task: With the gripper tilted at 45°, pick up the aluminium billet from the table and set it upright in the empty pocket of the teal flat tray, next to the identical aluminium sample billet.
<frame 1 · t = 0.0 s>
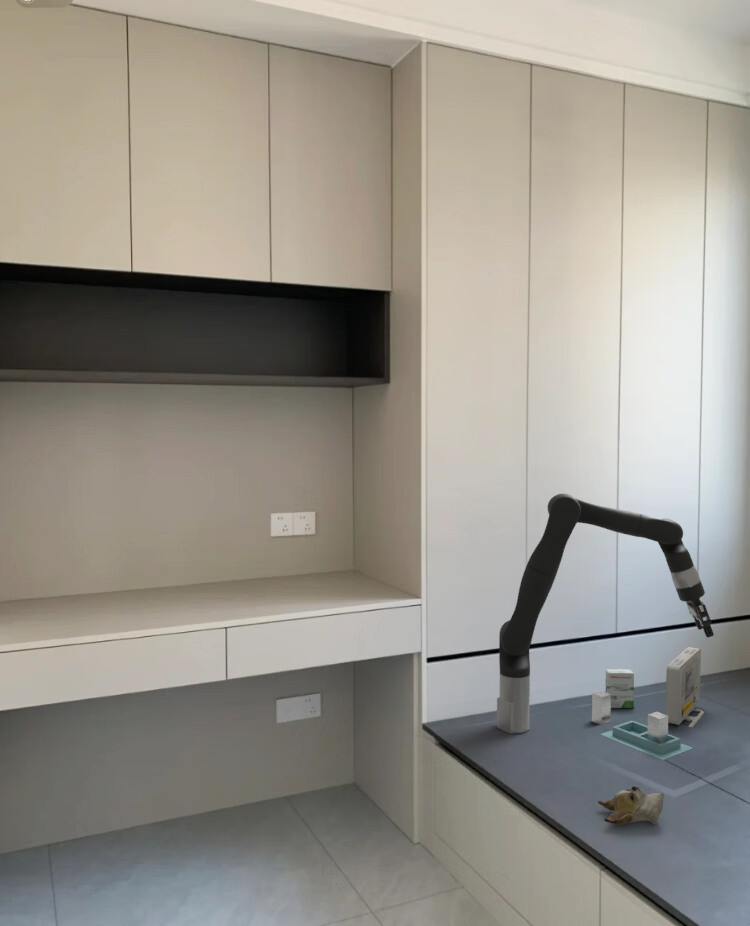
hand: (706, 632, 251), 31 cm above the platform, fingers open, 8 cm apart
teal flat tray: (645, 746, 245), on the platform
billet: (601, 721, 264), on the platform
sample billet: (657, 745, 242), point 1 cm above the platform, touching teal flat tray
network device: (683, 718, 266), on the platform
ink box: (619, 706, 278), on the platform
ceramic sculpture: (631, 821, 202), on the platform
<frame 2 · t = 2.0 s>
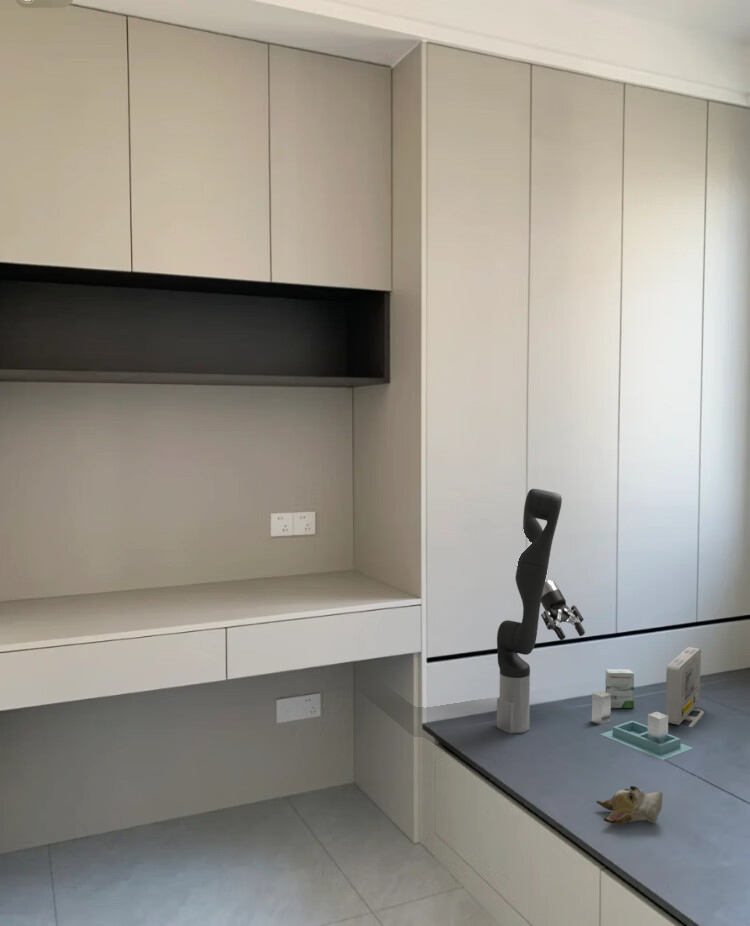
hand: (573, 636, 272), 24 cm above the platform, fingers open, 8 cm apart
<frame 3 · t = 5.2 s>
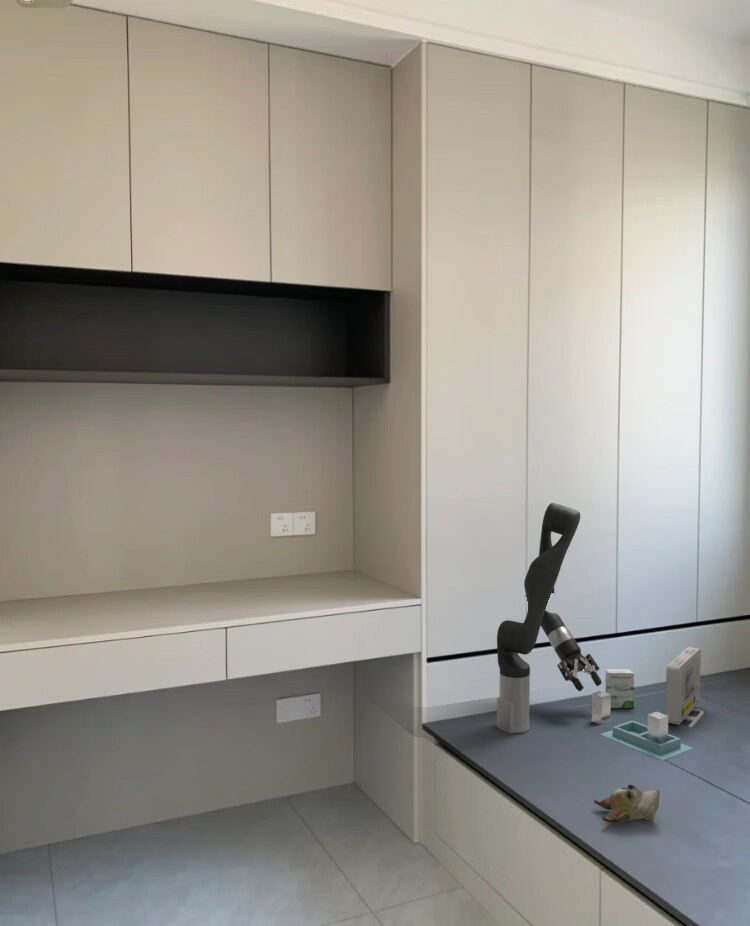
hand: (590, 687, 267), 10 cm above the platform, fingers open, 8 cm apart
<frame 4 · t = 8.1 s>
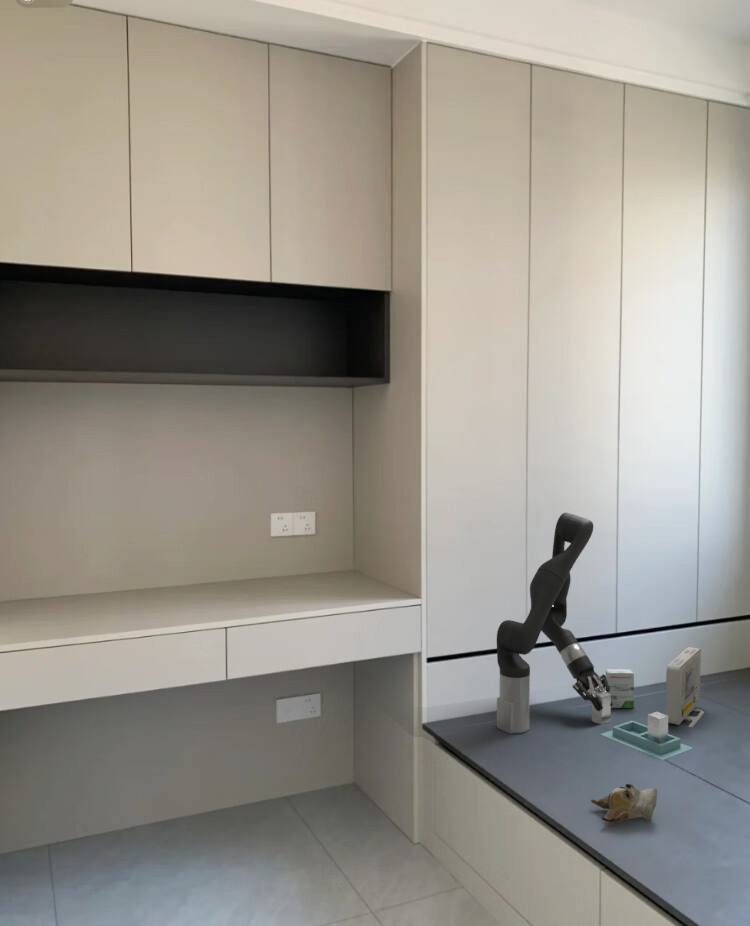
hand: (605, 708, 262), 5 cm above the platform, fingers closed on billet, 4 cm apart
billet: (601, 721, 264), on the platform, touching gripper
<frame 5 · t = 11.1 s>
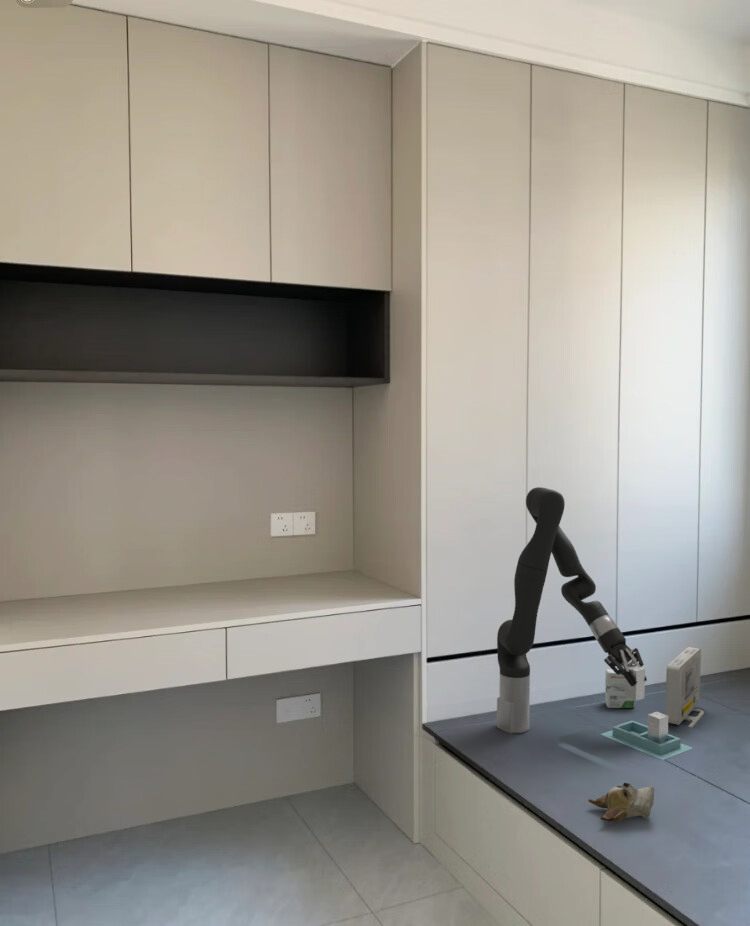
hand: (639, 683, 246), 18 cm above the platform, fingers closed on billet, 4 cm apart
billet: (634, 697, 248), point 13 cm above the platform, touching gripper
when the fingers open (8 cm above the platform, at t = 14.4 s): billet drops 1 cm, resting on teal flat tray.
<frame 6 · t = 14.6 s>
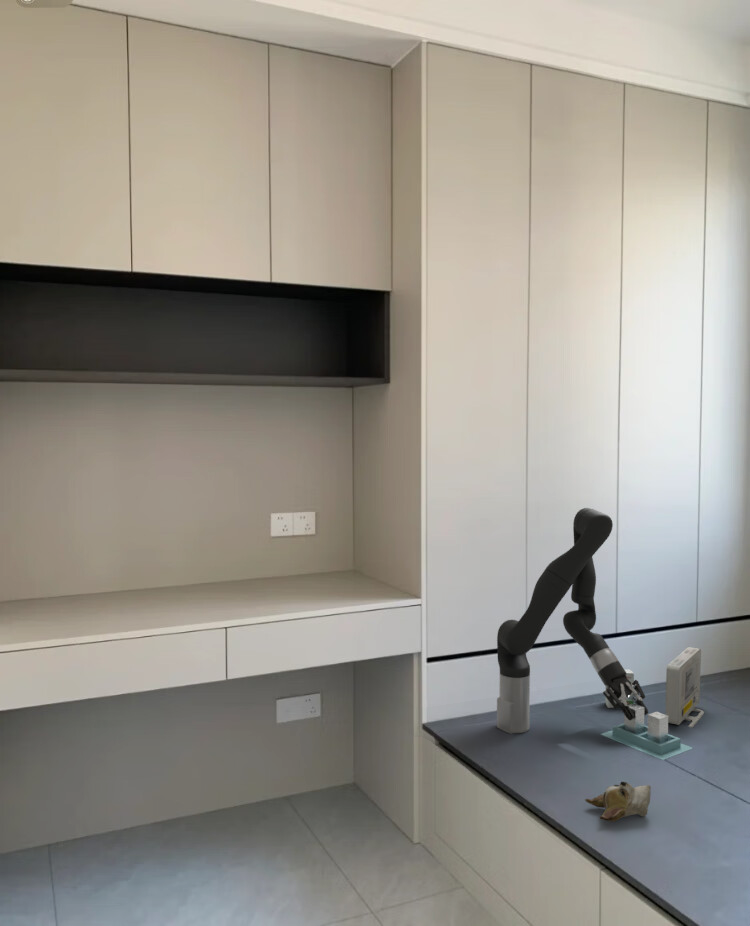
hand: (639, 716, 246), 8 cm above the platform, fingers open, 5 cm apart
billet: (634, 736, 248), point 2 cm above the platform, touching teal flat tray
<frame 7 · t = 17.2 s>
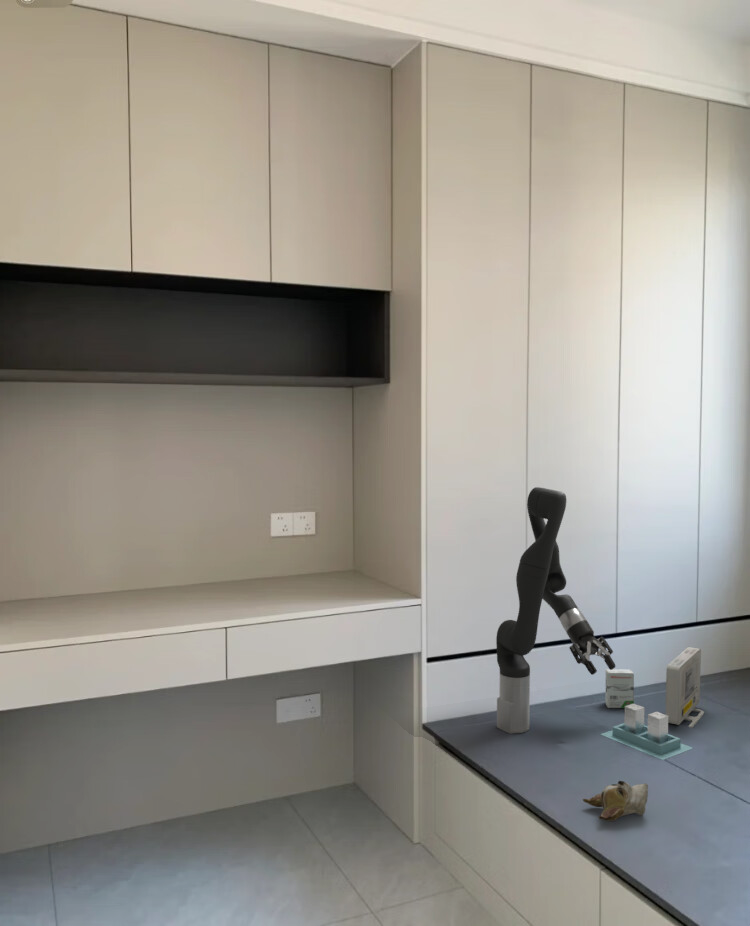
hand: (604, 670, 257), 18 cm above the platform, fingers open, 8 cm apart
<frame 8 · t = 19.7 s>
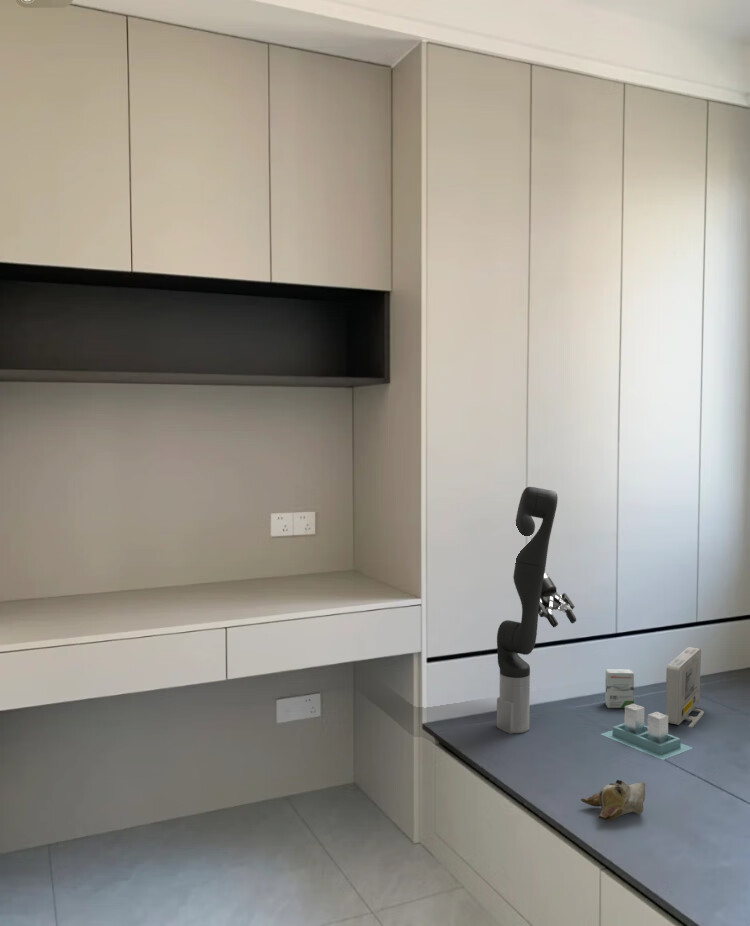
hand: (565, 624, 272), 29 cm above the platform, fingers open, 8 cm apart
at the end: billet 0.1 cm from the target spot on the teal flat tray, point 1.5 cm above the teal flat tray's base; billet tilted 0°; the gripper is holding nothing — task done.
